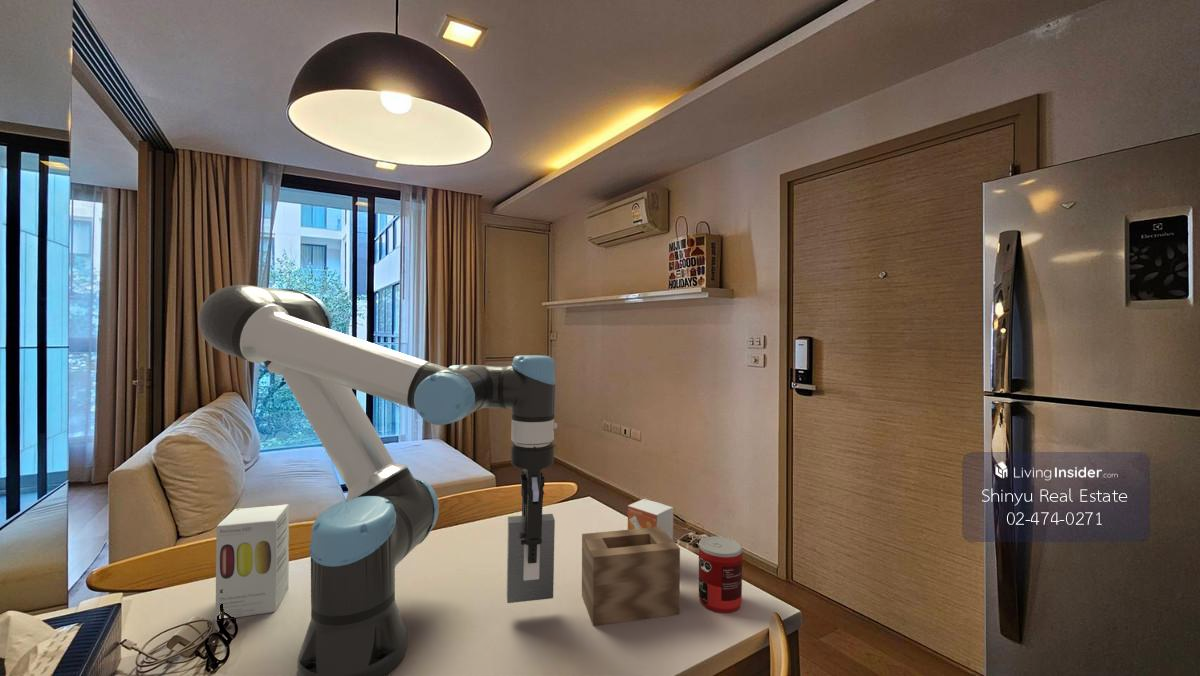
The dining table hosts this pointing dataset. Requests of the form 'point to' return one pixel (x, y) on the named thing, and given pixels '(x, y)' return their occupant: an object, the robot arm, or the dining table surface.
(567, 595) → the dining table surface
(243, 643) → the dining table surface
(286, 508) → the supplement box
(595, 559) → the wooden planter box
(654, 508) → the small box
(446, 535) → the dining table surface
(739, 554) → the canned food
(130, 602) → the dining table surface
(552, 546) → the grey slab
